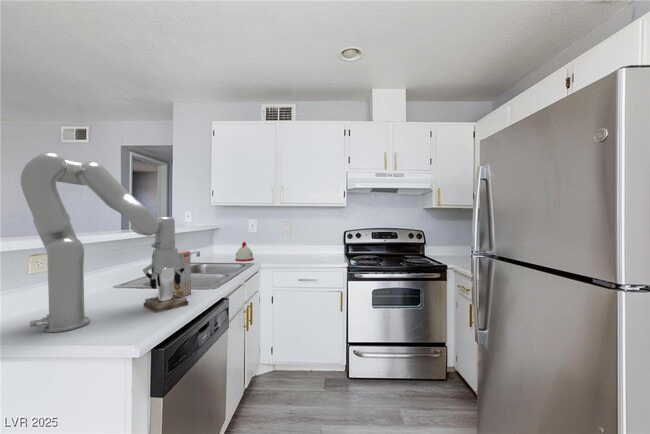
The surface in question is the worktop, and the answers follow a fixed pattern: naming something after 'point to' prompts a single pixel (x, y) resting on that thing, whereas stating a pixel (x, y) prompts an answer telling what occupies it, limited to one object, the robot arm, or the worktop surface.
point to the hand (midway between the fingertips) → (165, 286)
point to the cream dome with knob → (244, 253)
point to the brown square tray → (165, 303)
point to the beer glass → (165, 284)
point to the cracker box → (184, 275)
